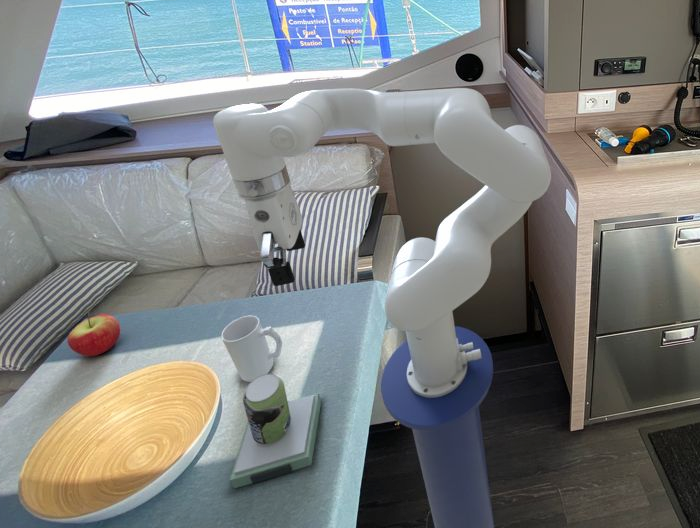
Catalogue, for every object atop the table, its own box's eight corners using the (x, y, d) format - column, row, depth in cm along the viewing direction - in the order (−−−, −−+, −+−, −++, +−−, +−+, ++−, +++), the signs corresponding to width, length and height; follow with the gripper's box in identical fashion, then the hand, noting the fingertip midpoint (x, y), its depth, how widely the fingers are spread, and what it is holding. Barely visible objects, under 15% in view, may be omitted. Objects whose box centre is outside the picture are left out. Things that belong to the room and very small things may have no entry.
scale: (321, 401, 82) (317, 390, 81) (311, 467, 71) (306, 456, 70) (254, 419, 79) (250, 409, 78) (233, 491, 68) (227, 480, 67)
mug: (233, 385, 86) (214, 344, 81) (247, 358, 92) (230, 317, 88) (284, 377, 87) (268, 336, 83) (295, 351, 93) (280, 310, 89)
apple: (134, 330, 102) (116, 299, 98) (112, 359, 94) (92, 326, 90) (95, 338, 100) (75, 306, 96) (69, 368, 92) (47, 335, 88)
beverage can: (267, 412, 77) (247, 367, 73) (305, 413, 77) (288, 367, 72) (246, 449, 71) (223, 402, 67) (287, 449, 71) (267, 402, 66)
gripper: (275, 202, 60) (304, 293, 67) (298, 156, 76) (320, 233, 82) (217, 212, 59) (253, 304, 65) (252, 162, 74) (279, 241, 81)
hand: (290, 265), depth 74 cm, fingers open, 9 cm apart
